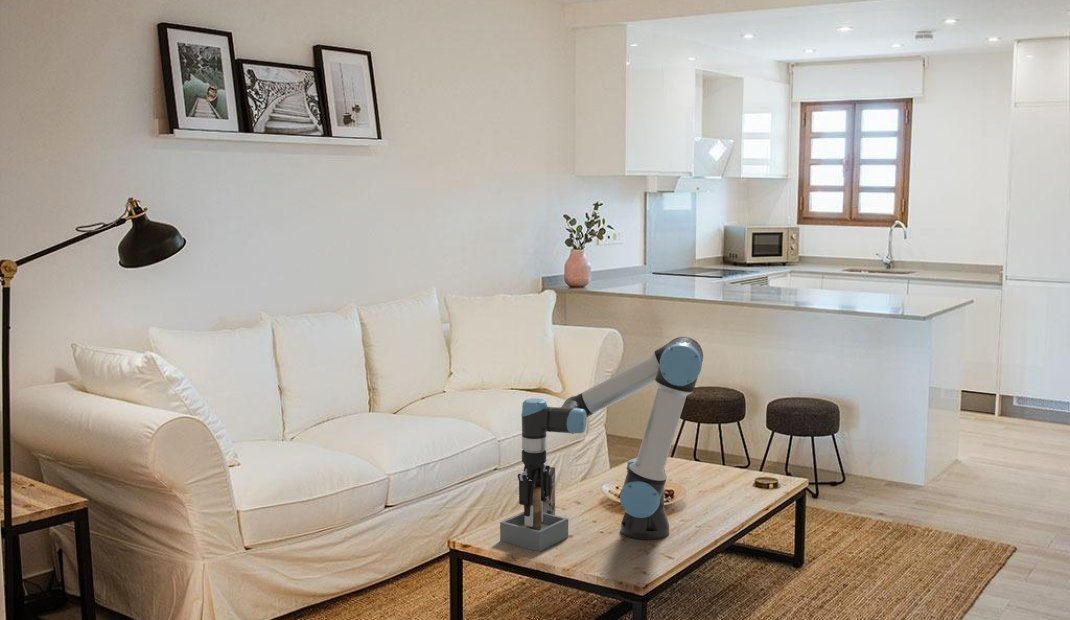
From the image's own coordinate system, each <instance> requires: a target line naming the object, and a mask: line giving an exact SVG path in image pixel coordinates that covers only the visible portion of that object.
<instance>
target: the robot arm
mask: <svg viewBox="0 0 1070 620" xmlns="http://www.w3.org/2000/svg"><path fill="white" fill-rule="evenodd" d="M703 359H704V352H703V349H702V347H701V345H700V344H699V342H697V340H695V339H693V338H692V337H688V336H677V337H675V338H673V339H672V340H670V341H669V342H667V343H665V344H664V345H663V346H661V347H659V348H657V349H656V350H654V351H653V352H652V356H649V357H648V358H646V359H643V360H642V361H640V362H638V363H635V364H634V365H633V366H630V367H628V368H627V369H625V370H623V371H621V372H619V373H616V374H615V375H612V376H611V377H610V378H607V379H606V380H603V381H602V382H600V383H598V384H596V385H593V386H592V387H590V388H588V389H587V390H584V391H582V392H580V393H578V394H577V395H572V396H570V397H569V398H567V399H566V400H565V401H564V402H563V404H562V405H561V407H560V406H559V407H557V406H555V407H554V406H553V407H552V406H548V404H547V400H545V399H543V398H538V397H535V398H533V397H532V398H528V399H525V400H524V401H523V402H522V404H521V406H522V407H521V414H520V415H521V448H522V450H521V462H522V463H523V464H524V466H523V472H521V473H518V474H517V479H518V504H519V505H520V506H523V512H524V516H525V525H527V526H530V527H532V526H533V505H531V504H532V496H533V489H534V485H535V486H540V487H541V522H543V508H544V501H546V500H547V498H545V497H548V483H549V469H550V467H551V466H550V465H548V464H547V465H546V462H547V442H548V440H547V432H549V433H562V434H564V433H565V434H573V435H575V434H583V433H585V431H586V427H587V420H588V418H589V417H591V416H593V415H594V414H596V413H597V412H599V411H601V410H603V409H605V408H607V407H609V406H611V405H614V404H616V403H617V402H619V401H622V400H623V399H625V398H627V397H629V396H631V395H633V394H635V393H637V392H638V391H639V392H640V390H643V389H645V388H647V387H649V386H651V385H653V384H655V383H656V385H657V390H656V394H655V397H654V400H653V404H652V408H651V409H650V410H651V411H650V413H649V416H648V421H647V423H646V425H645V426H646V427H645V429H644V433H643V437H642V441H641V444H640V447H639V450H638V454H637V457H636V458H633V459H630V460H629V459H628V462H627V465H626V475H625V479H624V483H623V486H622V488H621V489H620V493H619V501H620V505H621V508H622V509H623V511H624V515H623V518H622V521H621V524H620V531H621V533H622V534H623V535H624V536H626V537H629V538H632V539H637V540H658V539H663V538H665V537H667V536H668V535H669V534H670V523H669V520H668V516H667V512H666V510H665V486H666V483H667V482H666V481H667V477H668V476H667V474H666V469H665V468H666V463H667V461H668V458H669V455H670V451H671V447H672V445H673V442H674V438H675V435H676V432H677V429H678V425H679V422H680V420H681V415H682V412H683V409H684V406H685V402H686V398H687V396H689V395H690V394H691V395H692V394H693V393H694V391H695V387H696V384H697V381H698V377H699V376H700V373H701V371H702V366H703V361H704V360H703ZM544 492H545V493H544Z"/></svg>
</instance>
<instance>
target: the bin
mask: <svg viewBox="0 0 1070 620" xmlns="http://www.w3.org/2000/svg"><path fill="white" fill-rule="evenodd" d="M499 536H500V539H499V540H500V542H503V543H506V544H510V545H512V546H517V547H521V548H525V549H529V550H532V551H535V552H542V551H544V550H545V549H548V548H550V547H552V546H553V545H556V544H558V543H560V542H562V541H564V540H566V539H567V538H569V518H567V517H564V516H558V515H556V514H555V515H552V514H548V513H544V512H543V522H541V530H539V531H537V530H534V529H530V528H527V525H525V516H524V511H523V512H520V513H518V514H515V515H513V516H511V517H509V518H507V519H504V520H502V521H500V522H499Z"/></svg>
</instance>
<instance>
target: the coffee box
mask: <svg viewBox="0 0 1070 620" xmlns="http://www.w3.org/2000/svg"><path fill="white" fill-rule="evenodd" d="M544 493H545V492H544ZM545 498H547V500H546V501H544V508H543V512H544V513H548V514H552V515H556V467H552V466H550V469H549V483H548V497H545Z"/></svg>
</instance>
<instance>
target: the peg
mask: <svg viewBox="0 0 1070 620" xmlns="http://www.w3.org/2000/svg"><path fill="white" fill-rule="evenodd" d="M531 505H533V526H532V527H530V526H527V528H530V529H534V530H537V531H539V530H541V487H540V486H535V485H534V489H533V496H532V504H531Z"/></svg>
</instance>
